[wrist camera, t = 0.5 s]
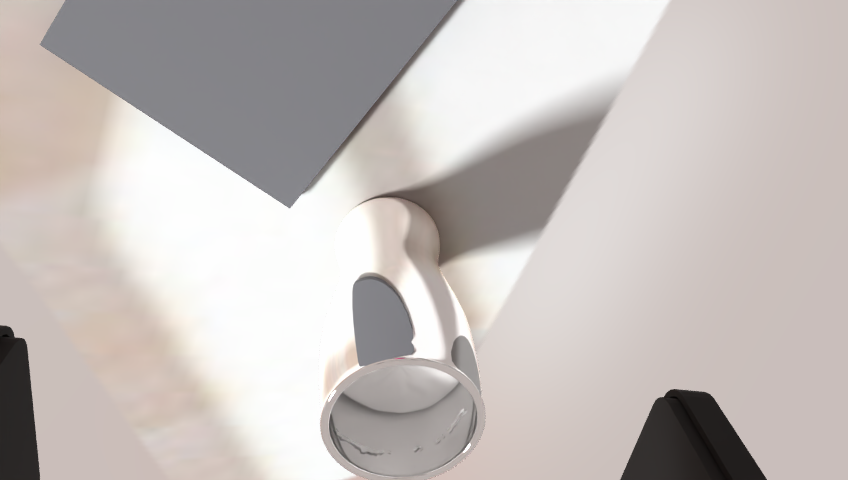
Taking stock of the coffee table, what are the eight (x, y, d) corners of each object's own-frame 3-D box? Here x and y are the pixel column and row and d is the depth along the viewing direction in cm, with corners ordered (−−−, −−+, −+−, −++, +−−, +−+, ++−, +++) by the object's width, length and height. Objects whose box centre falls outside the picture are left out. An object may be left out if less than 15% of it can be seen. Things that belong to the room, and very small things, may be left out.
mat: (232, -271, 29) (227, -276, 28) (483, -40, 34) (487, -37, 33) (49, 38, 34) (39, 44, 33) (291, 199, 39) (289, 208, 38)
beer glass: (399, 165, 39) (423, 323, 25) (469, 251, 42) (523, 432, 28) (302, 235, 40) (277, 417, 27) (376, 313, 43) (387, 512, 30)
